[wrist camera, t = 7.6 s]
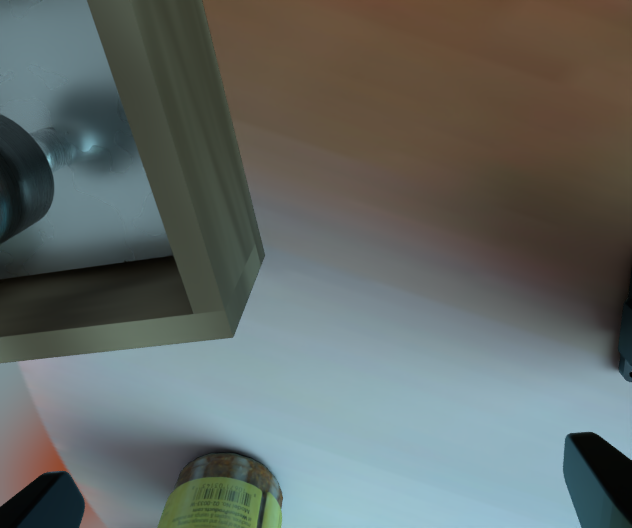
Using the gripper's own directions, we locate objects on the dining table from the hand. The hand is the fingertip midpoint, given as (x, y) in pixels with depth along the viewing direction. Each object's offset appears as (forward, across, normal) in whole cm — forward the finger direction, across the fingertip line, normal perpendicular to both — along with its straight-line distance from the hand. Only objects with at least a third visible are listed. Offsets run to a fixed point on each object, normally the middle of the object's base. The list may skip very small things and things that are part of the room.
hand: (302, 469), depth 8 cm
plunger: (+11, +9, -5) cm, 15 cm away
